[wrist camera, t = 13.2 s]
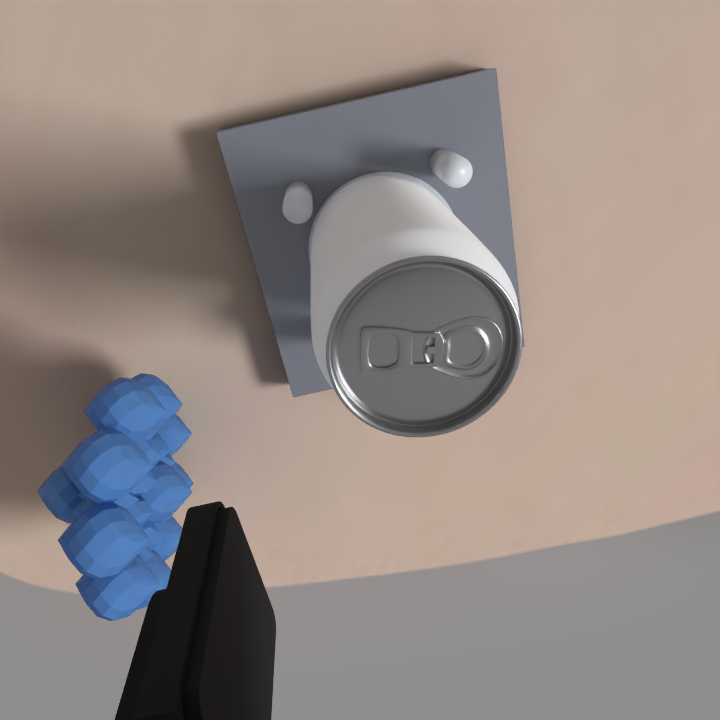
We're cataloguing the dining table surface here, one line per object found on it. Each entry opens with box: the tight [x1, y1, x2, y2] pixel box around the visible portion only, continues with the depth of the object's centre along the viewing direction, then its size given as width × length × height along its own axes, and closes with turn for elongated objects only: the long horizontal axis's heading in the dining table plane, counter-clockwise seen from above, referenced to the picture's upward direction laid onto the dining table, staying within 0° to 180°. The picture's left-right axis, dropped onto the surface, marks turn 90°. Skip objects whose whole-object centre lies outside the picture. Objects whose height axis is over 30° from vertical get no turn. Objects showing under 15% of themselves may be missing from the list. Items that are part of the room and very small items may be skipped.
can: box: [311, 175, 522, 437], centre depth 23 cm, size 6×6×12 cm
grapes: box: [38, 373, 193, 621], centre depth 28 cm, size 12×7×12 cm, turn 176°
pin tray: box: [216, 68, 524, 397], centre depth 28 cm, size 13×12×4 cm
